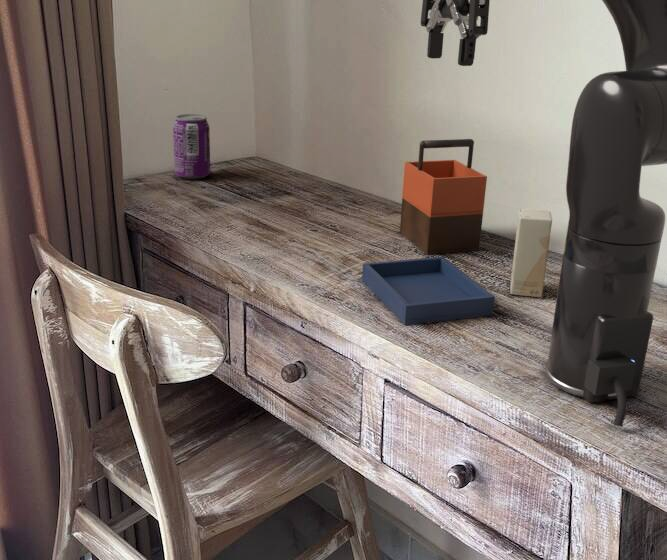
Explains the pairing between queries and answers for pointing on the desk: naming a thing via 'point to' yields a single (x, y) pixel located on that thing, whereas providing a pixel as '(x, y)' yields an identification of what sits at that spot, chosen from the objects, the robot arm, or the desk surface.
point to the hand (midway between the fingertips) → (449, 61)
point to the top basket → (444, 183)
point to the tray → (427, 290)
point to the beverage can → (191, 146)
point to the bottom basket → (440, 230)
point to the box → (530, 252)
